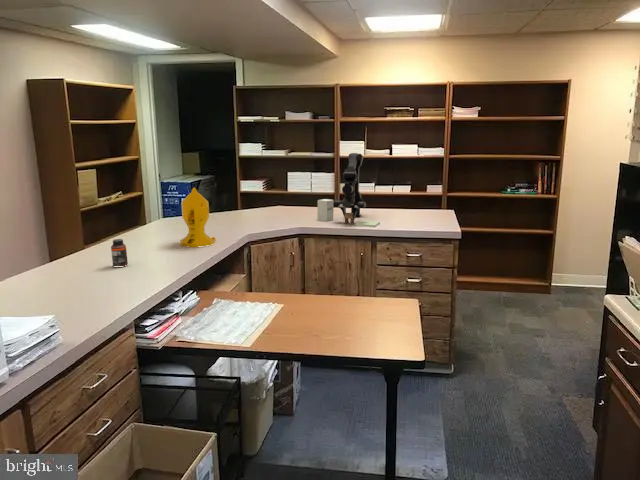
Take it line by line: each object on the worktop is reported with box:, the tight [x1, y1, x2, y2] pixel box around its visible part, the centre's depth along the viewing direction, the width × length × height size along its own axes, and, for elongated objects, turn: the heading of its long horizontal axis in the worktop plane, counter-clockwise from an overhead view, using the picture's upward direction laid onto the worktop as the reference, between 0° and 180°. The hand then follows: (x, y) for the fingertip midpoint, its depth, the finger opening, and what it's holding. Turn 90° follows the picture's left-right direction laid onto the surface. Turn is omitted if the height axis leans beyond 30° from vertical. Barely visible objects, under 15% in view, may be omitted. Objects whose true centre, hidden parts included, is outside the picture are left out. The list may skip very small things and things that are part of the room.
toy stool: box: [343, 212, 355, 225], centre depth 309 cm, size 5×5×6 cm
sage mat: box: [354, 219, 381, 228], centre depth 307 cm, size 12×12×1 cm
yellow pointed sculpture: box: [179, 187, 217, 247], centre depth 256 cm, size 18×24×28 cm
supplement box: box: [316, 198, 335, 222], centre depth 319 cm, size 7×7×13 cm
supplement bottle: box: [110, 238, 129, 267], centre depth 218 cm, size 6×6×11 cm
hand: (349, 218), depth 309 cm, fingers closed on toy stool, 5 cm apart
